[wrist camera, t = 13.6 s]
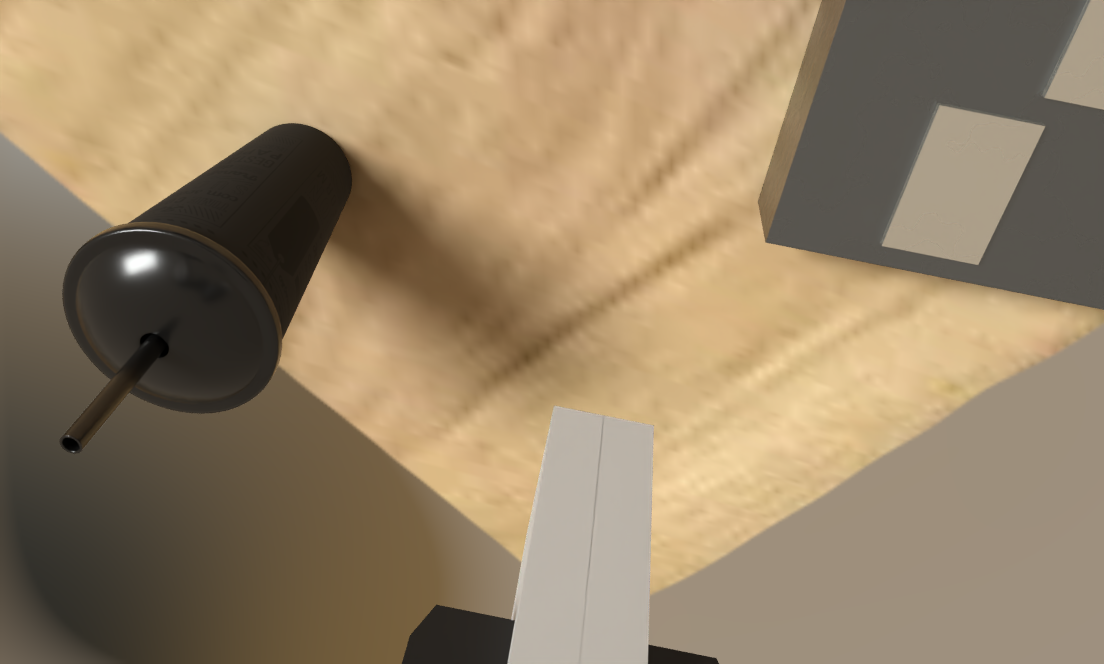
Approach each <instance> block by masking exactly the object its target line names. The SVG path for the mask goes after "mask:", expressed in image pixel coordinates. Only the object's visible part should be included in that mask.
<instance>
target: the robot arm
mask: <svg viewBox="0 0 1104 664" xmlns="http://www.w3.org/2000/svg"><path fill="white" fill-rule="evenodd" d="M653 435H654V425H649V424H644V423H639V422H634V421H629V420H624V419H619V418H614V417H609V416H604V415H599V414H594V413H589V412H584V411H579V410H574V409H569V408H564V407H558V406H554V408H553V413H552V418H551V422H550V427H549V432H548V436H547V441H546V446H545V451H544V455H543V460H542V465H541V470H540V474H539V479H538V484H537V488H536V493H535V498H534V503H533V507H532V512H531V517H530V521H529V526H528V531H527V536H526V541H525V547H524V552H523V558H522V563H521V569H520V575H519V580H518V586H517V591H516V597H515V602H514V608H513V613H512V619H511V620H510V619H505V618H500V617H495V616H490V615H485V614H480V613H475V612H470V611H465V610H460V609H455V608H450V607H445V606H440V605H436V606H435V607H434V608H433V609H432V610H431V612H430V613H429V614H428V615H427V616H426V618H425V619H424V620H423V621H422V622H421V623H420V625H419V626H418V627H417V628H416V629H415V630H414V632H413V633H412V634H411V635H410V637H409V641H408V644H407V648H406V651H405V655H404V658H403V662H402V664H719V663H718V661H717V659H716V658H712V657H707V656H702V655H697V654H692V653H687V652H682V651H677V650H672V649H667V648H662V647H657V646H652V645H648V637H649V636H648V635H649V634H648V633H649V596H650V556H651V516H652V476H653Z"/></svg>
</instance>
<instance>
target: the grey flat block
mask: <svg viewBox="0 0 1104 664" xmlns="http://www.w3.org/2000/svg"><path fill="white" fill-rule="evenodd" d="M758 204H759V210H760V215H761V221H762V226H763V231H764V237H765V242H766V243H771V244H776V245H781V246H786V247H791V248H796V249H802V250H807V251H812V252H817V253H822V254H827V255H832V256H837V257H842V258H847V259H852V260H857V261H862V262H867V263H872V264H877V265H882V266H887V267H892V268H897V269H902V270H907V271H912V272H917V273H922V274H927V275H932V276H937V277H942V278H947V279H952V280H957V281H962V282H967V283H972V284H977V285H982V286H987V287H992V288H997V289H1002V290H1007V291H1012V292H1017V293H1023V294H1028V295H1033V296H1038V297H1043V298H1048V299H1053V300H1058V301H1063V302H1068V303H1073V304H1078V305H1083V306H1088V307H1093V308H1098V309H1103V310H1104V0H822V2H821V6H820V9H819V12H818V15H817V18H816V21H815V24H814V27H813V31H812V34H811V37H810V40H809V43H808V46H807V49H806V53H805V56H804V59H803V62H802V65H801V68H800V71H799V75H798V78H797V81H796V84H795V87H794V90H793V93H792V97H791V100H790V103H789V106H788V109H787V112H786V115H785V119H784V122H783V125H782V128H781V131H780V134H779V137H778V141H777V144H776V147H775V150H774V153H773V156H772V159H771V162H770V166H769V169H768V172H767V175H766V178H765V181H764V184H763V188H762V191H761V194H760V197H759V200H758Z"/></svg>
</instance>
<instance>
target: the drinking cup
mask: <svg viewBox="0 0 1104 664" xmlns="http://www.w3.org/2000/svg"><path fill="white" fill-rule="evenodd" d="M351 186H352V176H351V170H350V166H349V163H348V161H347V159H346V157H345V155H344V153H343V152H342V150H341V149H340V148H339V146H338V145H337V144H336V143H335V142H334V141H333V140H332V139H331V138H330V137H328V136H327V135H326V134H324V133H323V132H321V131H319V130H317V129H315V128H313V127H310V126H307V125H303V124H295V123H288V124H282V125H278V126H275V127H273V128H271V129H269V130H267V131H266V132H264V133H263V134H261V135H260V136H258V137H257V138H255V139H254V140H252V141H251V142H249V143H248V144H246V145H245V146H243V147H242V148H240V149H239V150H237V151H236V152H234V153H233V154H231V155H230V156H228V157H227V158H225V159H224V160H222V161H221V162H219V163H218V164H216V165H215V166H213V167H212V168H210V169H209V170H207V171H206V172H204V173H203V174H201V175H200V176H198V177H197V178H195V179H194V180H192V181H191V182H189V183H188V184H186V185H185V186H183V187H182V188H180V189H179V190H177V191H176V192H174V193H173V194H171V195H170V196H168V197H167V198H165V199H164V200H162V201H161V202H159V203H158V204H156V205H155V206H153V207H152V208H150V209H149V210H147V211H146V212H144V213H143V214H141V215H140V216H138V217H137V218H135V219H134V220H132V221H131V222H129V223H128V224H122V225H118V226H115V227H111V228H109V229H107V230H104V231H102V232H101V233H99V234H97V235H96V236H94V237H93V238H91V239H90V240H89V241H87V242H86V243H85V244H84V245H83V246H82V247H81V248H80V249H79V250H78V251H77V252H76V254H75V255H74V256H73V258H72V259H71V261H70V263H69V265H68V268H67V270H66V273H65V277H64V282H63V293H62V294H63V306H64V311H65V315H66V319H67V322H68V325H69V327H70V329H71V332H72V333H73V336H74V337H75V339H76V341H77V343H78V344H79V346H80V347H81V349H82V350H83V352H84V353H85V354H86V356H87V357H88V358H89V359H90V361H91V362H92V363H93V364H94V365H95V366H96V367H97V368H98V369H99V370H100V371H101V372H102V373H103V374H104V375H106V376H107V377H108V378H109V379H110V381H109V383H108V384H107V385H106V386H105V387H104V388H103V389H102V391H101V392H100V393H99V394H98V395H97V396H96V398H95V399H94V400H93V401H92V402H91V403H90V404H89V406H88V407H87V408H86V409H85V410H84V411H83V413H82V414H81V415H80V416H79V417H78V418H77V419H76V421H75V422H74V423H73V424H72V425H71V427H70V428H69V429H68V430H67V431H66V432H65V433H64V434H63V436H62V437H61V438H60V441H59V442H60V445H61V447H62V448H63V449H64V450H66V451H67V452H70V453H80V452H81V451H82V449H83V448H84V447H85V446H86V445H87V444H88V442H89V441H90V440H91V439H92V437H93V436H94V435H95V434H96V433H97V431H98V430H99V429H100V428H101V426H102V425H103V424H104V423H105V422H106V420H107V419H108V418H109V417H110V416H111V414H112V413H113V412H114V411H115V410H116V408H117V407H118V406H119V405H120V403H121V402H122V401H123V400H124V398H125V397H126V396H127V395H128V394H129V393H131V394H133V395H134V396H136V397H138V398H140V399H142V400H144V401H147V402H149V403H152V404H154V405H157V406H160V407H163V408H167V409H170V410H175V411H180V412H186V413H201V414H202V413H216V412H221V411H226V410H230V409H233V408H236V407H238V406H240V405H242V404H245V403H246V402H248V401H250V400H251V399H253V398H254V397H255V396H257V395H258V394H259V393H260V392H261V391H262V390H263V389H264V388H265V386H266V385H267V384H268V383H269V381H270V380H271V378H272V376H273V375H274V373H275V371H276V369H277V366H278V364H279V361H280V357H281V351H282V339H283V337H284V335H285V333H286V331H287V328H288V326H289V324H290V322H291V320H292V318H293V316H294V313H295V311H296V309H297V307H298V305H299V303H300V300H301V298H302V296H303V294H304V292H305V290H306V288H307V285H308V283H309V281H310V279H311V277H312V275H313V272H314V270H315V268H316V266H317V264H318V262H319V259H320V257H321V255H322V253H323V251H324V249H325V247H326V244H327V242H328V240H329V238H330V236H331V234H332V231H333V229H334V227H335V225H336V223H337V221H338V219H339V216H340V214H341V212H342V210H343V208H344V206H345V203H346V201H347V199H348V197H349V194H350V191H351Z"/></svg>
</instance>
